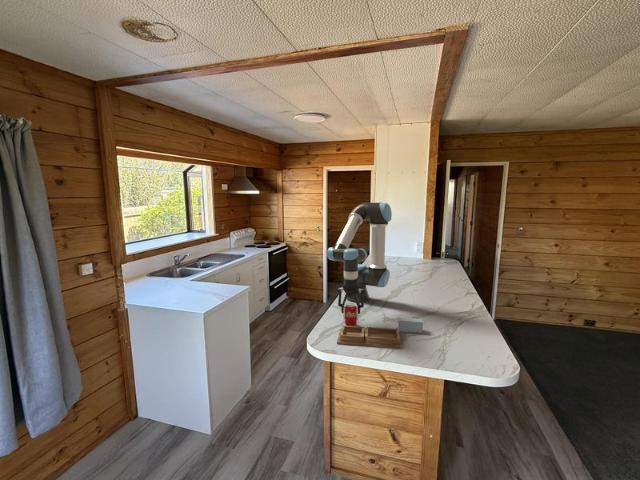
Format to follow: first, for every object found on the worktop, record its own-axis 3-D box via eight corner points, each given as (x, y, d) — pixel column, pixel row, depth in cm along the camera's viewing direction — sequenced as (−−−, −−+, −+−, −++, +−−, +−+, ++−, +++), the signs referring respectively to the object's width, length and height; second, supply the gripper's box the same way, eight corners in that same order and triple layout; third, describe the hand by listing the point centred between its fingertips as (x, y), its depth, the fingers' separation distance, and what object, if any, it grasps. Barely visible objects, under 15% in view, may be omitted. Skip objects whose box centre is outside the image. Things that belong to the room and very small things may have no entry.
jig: (340, 330, 165) (340, 324, 164) (398, 334, 160) (399, 327, 159) (336, 343, 152) (336, 336, 151) (400, 348, 146) (401, 341, 146)
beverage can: (348, 329, 167) (348, 307, 165) (343, 324, 173) (342, 303, 171) (358, 326, 169) (358, 305, 167) (353, 322, 175) (353, 302, 173)
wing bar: (397, 328, 168) (398, 317, 167) (421, 329, 165) (421, 318, 164) (398, 331, 164) (398, 320, 163) (422, 333, 162) (422, 322, 161)
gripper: (331, 279, 165) (332, 320, 168) (369, 280, 161) (368, 322, 165) (333, 275, 172) (334, 315, 176) (369, 276, 168) (368, 317, 172)
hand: (350, 318), depth 170 cm, fingers closed on beverage can, 6 cm apart
